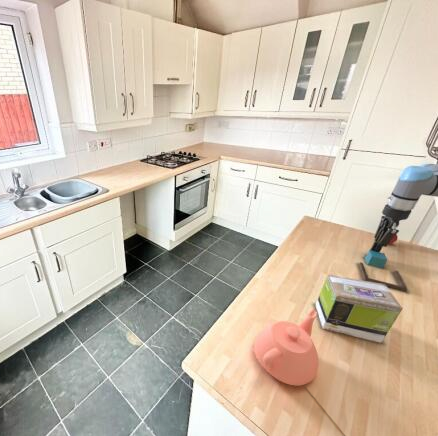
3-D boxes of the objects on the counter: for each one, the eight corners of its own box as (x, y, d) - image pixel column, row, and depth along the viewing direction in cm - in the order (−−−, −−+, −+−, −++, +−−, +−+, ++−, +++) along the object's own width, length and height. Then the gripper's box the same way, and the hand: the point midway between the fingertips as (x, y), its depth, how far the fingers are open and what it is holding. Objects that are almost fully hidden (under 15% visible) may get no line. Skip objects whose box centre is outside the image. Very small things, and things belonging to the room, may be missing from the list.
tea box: (366, 317, 79) (387, 283, 72) (380, 344, 70) (405, 309, 63) (313, 305, 83) (328, 272, 76) (321, 330, 75) (338, 295, 68)
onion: (381, 246, 112) (389, 231, 109) (374, 239, 117) (381, 225, 114) (396, 248, 111) (404, 233, 107) (388, 241, 116) (396, 226, 112)
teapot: (280, 321, 78) (290, 293, 72) (332, 359, 67) (348, 330, 61) (235, 358, 68) (242, 329, 62) (287, 410, 57) (302, 381, 51)
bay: (357, 265, 101) (359, 262, 100) (395, 274, 96) (398, 271, 95) (363, 282, 93) (365, 278, 92) (405, 293, 87) (407, 289, 86)
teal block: (364, 259, 105) (368, 249, 102) (379, 262, 102) (384, 253, 100) (366, 266, 101) (371, 256, 98) (382, 269, 99) (387, 259, 96)
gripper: (381, 198, 99) (358, 245, 111) (390, 211, 89) (364, 261, 101) (406, 202, 96) (379, 250, 107) (418, 216, 86) (387, 267, 98)
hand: (372, 255), depth 104 cm, fingers closed
